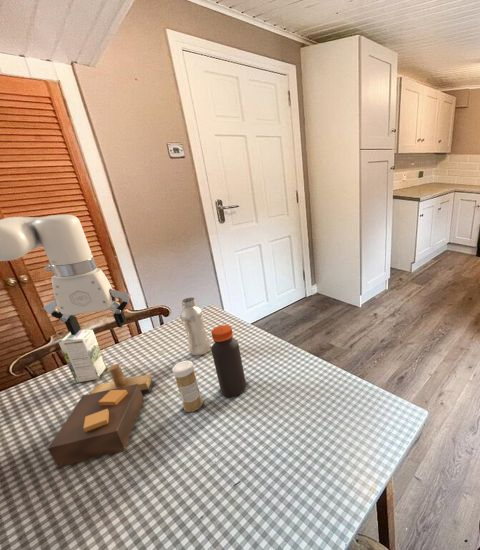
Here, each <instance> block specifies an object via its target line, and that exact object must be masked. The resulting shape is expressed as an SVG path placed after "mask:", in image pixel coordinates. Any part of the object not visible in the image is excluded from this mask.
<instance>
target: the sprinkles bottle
mask: <svg viewBox="0 0 480 550" xmlns="http://www.w3.org/2000/svg"><path fill="white" fill-rule="evenodd" d="M171 370H172V375H173V376H174V378H175V382H176V384H177V388H178V392H179V396H180V399H181V402H182V405H183V410H184V411H185V412H187V413H190V412H195V411H198V410H199V409H200V408H201V407H202V406H203V402H204V401H203V399H202V396H201V391H200V387H199V384H198V380H197V376H196V374H195V366H194V364H193V362H192V361H191V360H183V361H179V362H177V363H176V364H174V366H172V369H171Z"/></svg>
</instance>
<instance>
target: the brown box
mask: <svg viewBox="0 0 480 550" xmlns="http://www.w3.org/2000/svg"><path fill="white" fill-rule="evenodd" d="M111 390H127V393H128V394H127V395H126V396H125V397H124V398H123V399H122V400H121V401H120V402H119V403H118V404H117V405H99V401H100V400H101V399H102V398H103V397H104V396H105V395H106V394H107V393H108V392H109V391H110V390H106V391H102V392H97V393H92V394H90V393H88V394H83V395H82V396H81V397H80V399H79V400H78V402H77V403H76V404H75V407H74V408H73V410H72V411H71V412H70V414H69V416H68V417H67V418H66V420H65V421H64V423H63V424H62V426H61V428H60V429H59V431H58V432H57V434H56V435H55V436H54V438H53V440H52V441H51V443H50V444H49V446H48V447H47V451H48V452H49V454H50V456H51V457H52V459H53V461H54V463H55V465H56V466H57V468H58V469H60V468H65V467H67V466H71V465H74V464H75V465H76V464H78V463H82V462H86V461H90V460H94V459H97V458H101V457H104V456H107V455H112V454H114V453H120V452H123V451H125V450H126V449H127V445H128V443H129V440H130V438H131V436H132V432H133V430H134V428H135V425H136V423H137V420H138V418H139V415H140V413H141V410H142V408H143V405H144V403H145V400H144V399H145V398H144V396H143V394H142V393H141V390H140V387H139V384H134V385H130V386H125V387H120V388H116V389H111ZM105 409H108V411H109V418H108V424H106V425H103V426H100V427H98V428H95V429H92V430H90V431H87V432H85V431H84V429H83V427H84V422H85V417H86V416H88V415H91V414H94V413H97V412H100V411H102V410H105Z"/></svg>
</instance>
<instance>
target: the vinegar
mask: <svg viewBox="0 0 480 550" xmlns="http://www.w3.org/2000/svg"><path fill="white" fill-rule="evenodd" d="M210 333H211V337H212V340H213V344H212V346H211V347H210V350H211V355H212V359H213V363H214V364H213V365H214V368H215V372H216V377H217V381H218V384H219V389H220V394H221V395H222V396H223V397H225V398H232V397H237V396H238V395H240V394H242V393H243V392H244V391H245V390H246V388H247V382H246V377H245V371H244V365H243V360H242V355H241V351H240V345H239V344H240V343H239V341H238V340H237V339H235V338H233V337H234V333H233V329H232V326H231V325H228V324H222V325H217V326H216V327H213V329H212V330H211V332H210Z"/></svg>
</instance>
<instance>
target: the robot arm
mask: <svg viewBox="0 0 480 550" xmlns="http://www.w3.org/2000/svg"><path fill="white" fill-rule="evenodd" d="M41 247H42V248H43V251H44V252H45V255H46V257H47V260H48V262H49V265H45V266H44V269H45V271H46V272H52V273H53V275H52V276H51V285H52V286H51V288H52V292H53V295H54V299H53V300H52V301H50V302H48V303H47V304H45V305H44V306H43V307H42V308H43V311H46V312H47V313H48V314H51V317H53V318H56V319H59V321H60V322H61V323H64V325H65V327H66V329H67V331H68V332H69V333H70V332H71V335H76V334H77V333H78V332H79V331H80V330H82V328H81V325H80V323H79V321H78V318H77V316H78V315H84V314H91V313H98V312H104V311H106V310H109V311H110V312H113V313H114V314H113V319H114V321H115V324H116V326H117V328H122V327H123V326H124V325H125V324H126V322H127V317H126V314H125V312H124V309H125V308H126V307H127V306H128V304H129V302H130V299H131V296H132V295H131V293H129V292H125V291H119V290H115V289H113V287H112V285H111V283H110V281H109V279H108V278H107V275H105V273H104V271H103V270H102V269H101V268H100V267H98V266H97V264H96V262H95V261H96V260H95V258H94V255H93V253H92V251H91V248H90V245H89V242H88V240H87V237H86V235H85V232H84V228H83V226H82V222H81V220H80V219H79V218H78V217H77V216H76V215H73V214H54V215H53V214H52V215H46V216H40V217H39V216H37V217H35V216H33V217H30V216H12V217H5V218H2V219H0V262H10V261H15V260H19V259H21V258H23V257H25V256H26V255H28V254H29V253H30V252H31V251H33V250H35V249H38V248H41ZM117 298H118V299H121V303H119V302H118V301H117ZM57 307H58V308H57Z"/></svg>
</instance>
